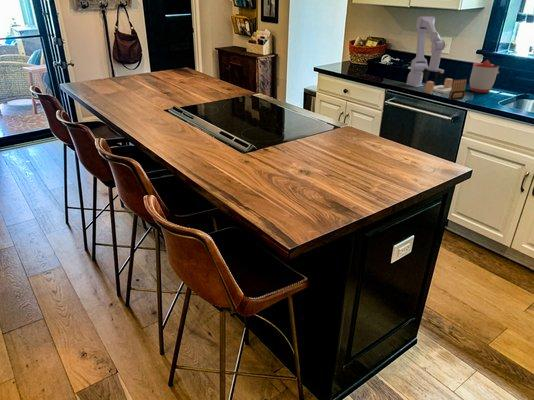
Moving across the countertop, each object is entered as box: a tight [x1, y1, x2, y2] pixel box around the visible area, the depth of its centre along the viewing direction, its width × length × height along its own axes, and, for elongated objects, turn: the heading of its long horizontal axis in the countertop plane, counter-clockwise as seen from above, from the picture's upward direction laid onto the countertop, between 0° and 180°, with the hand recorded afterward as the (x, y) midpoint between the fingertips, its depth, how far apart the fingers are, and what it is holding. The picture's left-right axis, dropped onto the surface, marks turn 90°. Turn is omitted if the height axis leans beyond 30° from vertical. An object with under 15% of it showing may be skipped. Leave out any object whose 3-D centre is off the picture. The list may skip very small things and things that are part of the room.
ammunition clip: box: [448, 78, 467, 101], centre depth 258 cm, size 11×2×12 cm, turn 113°
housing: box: [433, 77, 454, 95], centre depth 279 cm, size 13×14×7 cm
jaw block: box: [424, 80, 435, 94], centre depth 273 cm, size 4×4×7 cm
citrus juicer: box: [469, 59, 500, 94], centre depth 277 cm, size 16×17×20 cm
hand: (430, 82), depth 271 cm, fingers open, 7 cm apart
